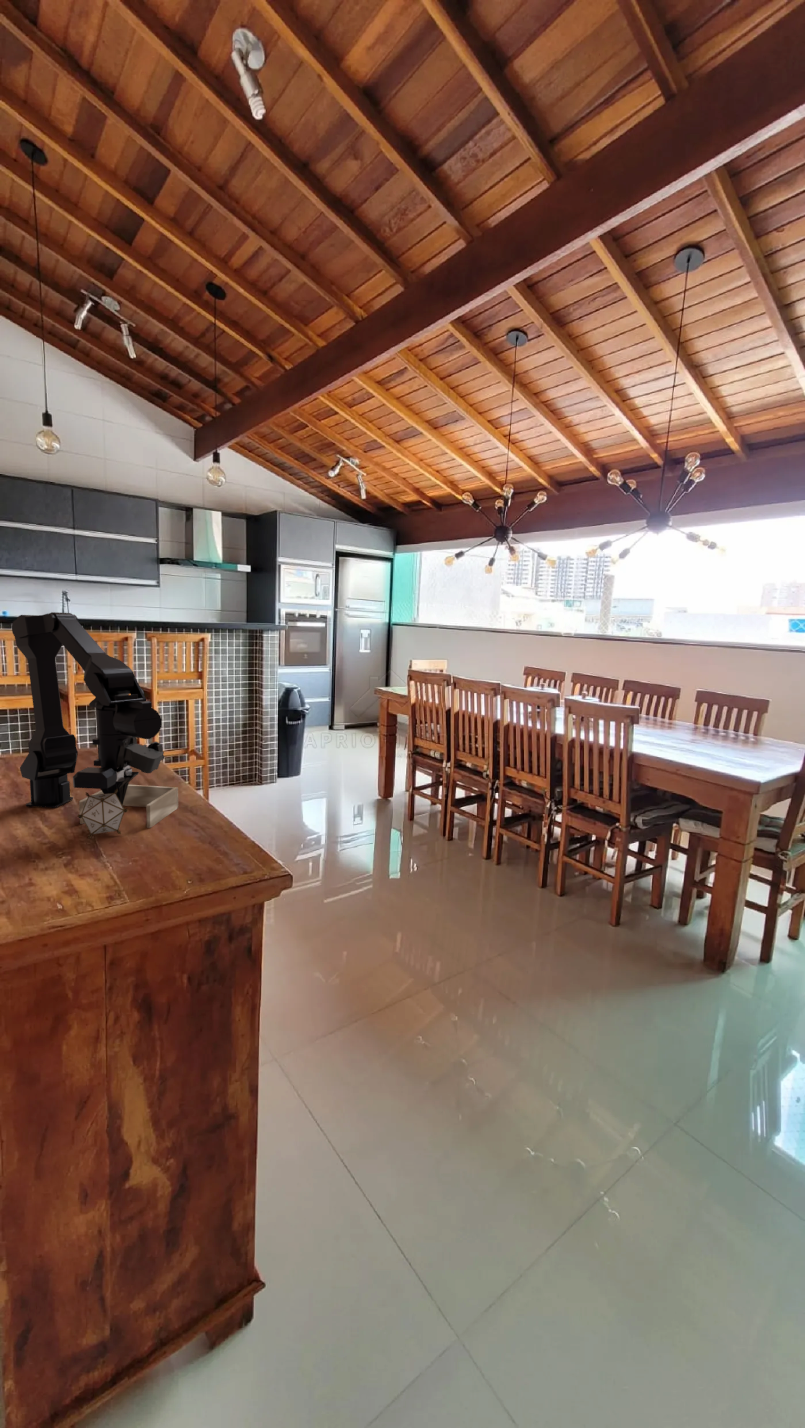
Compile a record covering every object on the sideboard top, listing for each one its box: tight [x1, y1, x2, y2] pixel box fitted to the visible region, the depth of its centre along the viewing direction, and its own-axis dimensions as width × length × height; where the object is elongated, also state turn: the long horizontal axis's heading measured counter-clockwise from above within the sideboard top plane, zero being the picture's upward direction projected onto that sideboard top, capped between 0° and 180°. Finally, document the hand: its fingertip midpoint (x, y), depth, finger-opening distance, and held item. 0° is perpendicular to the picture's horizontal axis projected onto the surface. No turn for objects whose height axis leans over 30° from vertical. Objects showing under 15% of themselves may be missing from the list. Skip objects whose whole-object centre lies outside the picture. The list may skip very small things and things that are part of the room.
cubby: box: [78, 784, 179, 829], centre depth 119 cm, size 14×13×4 cm
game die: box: [76, 789, 130, 839], centre depth 107 cm, size 9×8×10 cm
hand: (117, 810), depth 113 cm, fingers closed
